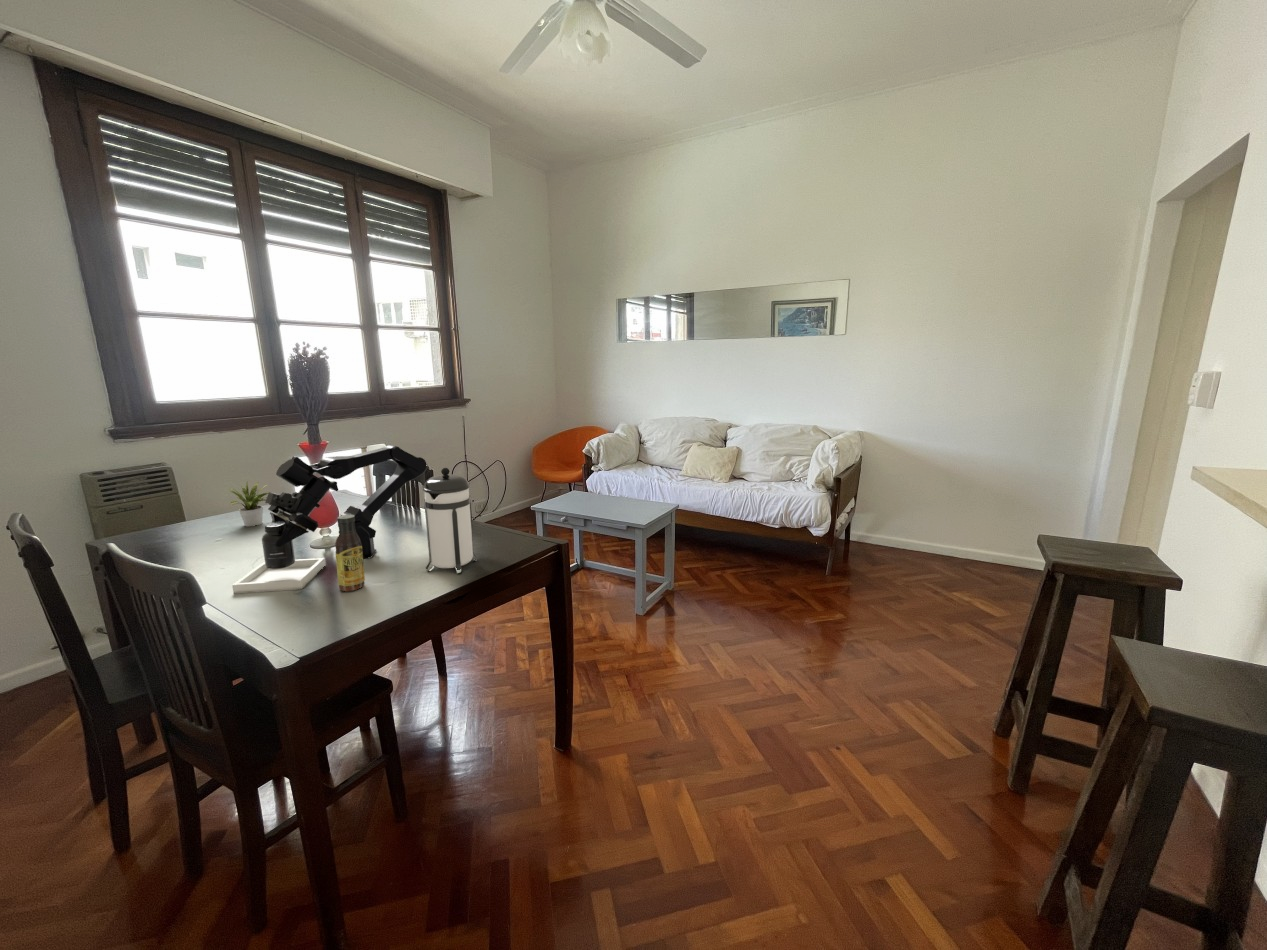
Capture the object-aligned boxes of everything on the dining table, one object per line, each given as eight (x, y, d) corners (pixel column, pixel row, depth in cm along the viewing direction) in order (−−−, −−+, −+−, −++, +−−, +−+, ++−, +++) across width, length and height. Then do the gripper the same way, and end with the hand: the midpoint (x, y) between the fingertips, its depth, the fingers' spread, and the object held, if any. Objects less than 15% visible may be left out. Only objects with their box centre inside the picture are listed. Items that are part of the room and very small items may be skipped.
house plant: (236, 534, 175) (228, 488, 171) (218, 527, 182) (210, 483, 178) (281, 523, 187) (275, 480, 183) (263, 517, 194) (256, 476, 190)
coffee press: (488, 569, 147) (482, 469, 141) (430, 580, 139) (421, 475, 133) (473, 550, 162) (467, 459, 155) (420, 559, 154) (411, 464, 147)
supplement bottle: (274, 572, 134) (267, 529, 131) (260, 566, 138) (253, 525, 135) (301, 563, 140) (295, 522, 137) (287, 557, 143) (281, 518, 140)
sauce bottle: (347, 594, 130) (337, 522, 126) (334, 589, 134) (324, 518, 129) (371, 585, 136) (363, 515, 131) (358, 580, 139) (350, 511, 135)
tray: (325, 565, 149) (324, 557, 148) (301, 589, 133) (300, 580, 133) (265, 569, 146) (264, 561, 145) (233, 593, 130) (232, 584, 130)
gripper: (271, 475, 142) (230, 522, 136) (298, 485, 131) (255, 536, 125) (305, 496, 150) (269, 541, 144) (334, 506, 139) (296, 556, 133)
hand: (271, 543), depth 136 cm, fingers closed on supplement bottle, 7 cm apart
